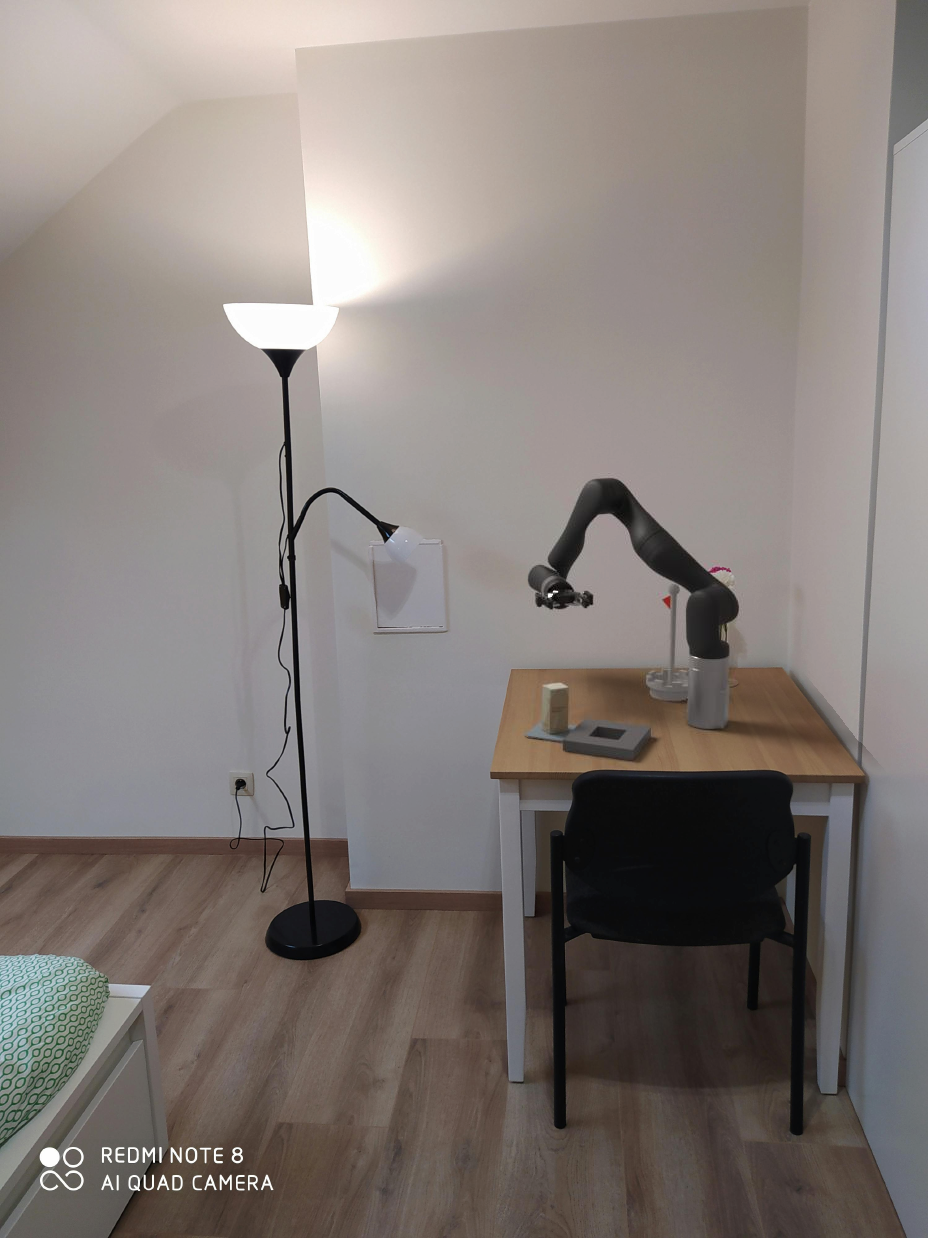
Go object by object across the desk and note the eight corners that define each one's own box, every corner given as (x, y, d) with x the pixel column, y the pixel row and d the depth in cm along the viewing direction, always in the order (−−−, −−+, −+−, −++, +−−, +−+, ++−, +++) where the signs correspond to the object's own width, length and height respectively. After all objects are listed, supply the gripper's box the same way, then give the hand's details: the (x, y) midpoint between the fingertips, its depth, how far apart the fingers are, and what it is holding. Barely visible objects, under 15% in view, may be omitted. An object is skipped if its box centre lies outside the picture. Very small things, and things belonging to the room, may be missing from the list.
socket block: (650, 736, 212) (651, 726, 211) (632, 760, 198) (632, 749, 197) (585, 727, 219) (585, 718, 218) (562, 750, 205) (562, 740, 204)
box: (549, 734, 213) (549, 689, 211) (541, 729, 217) (540, 684, 215) (569, 731, 215) (569, 686, 213) (560, 725, 219) (560, 681, 217)
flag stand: (706, 698, 239) (710, 586, 232) (664, 705, 234) (667, 590, 227) (676, 685, 251) (680, 577, 244) (636, 691, 246) (638, 582, 239)
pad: (580, 728, 219) (580, 726, 219) (565, 743, 209) (565, 741, 209) (541, 722, 223) (541, 720, 223) (524, 737, 213) (524, 735, 213)
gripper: (530, 578, 237) (540, 590, 221) (584, 576, 238) (597, 588, 222) (530, 607, 239) (540, 621, 223) (584, 604, 240) (597, 618, 224)
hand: (569, 604), depth 223 cm, fingers open, 8 cm apart
